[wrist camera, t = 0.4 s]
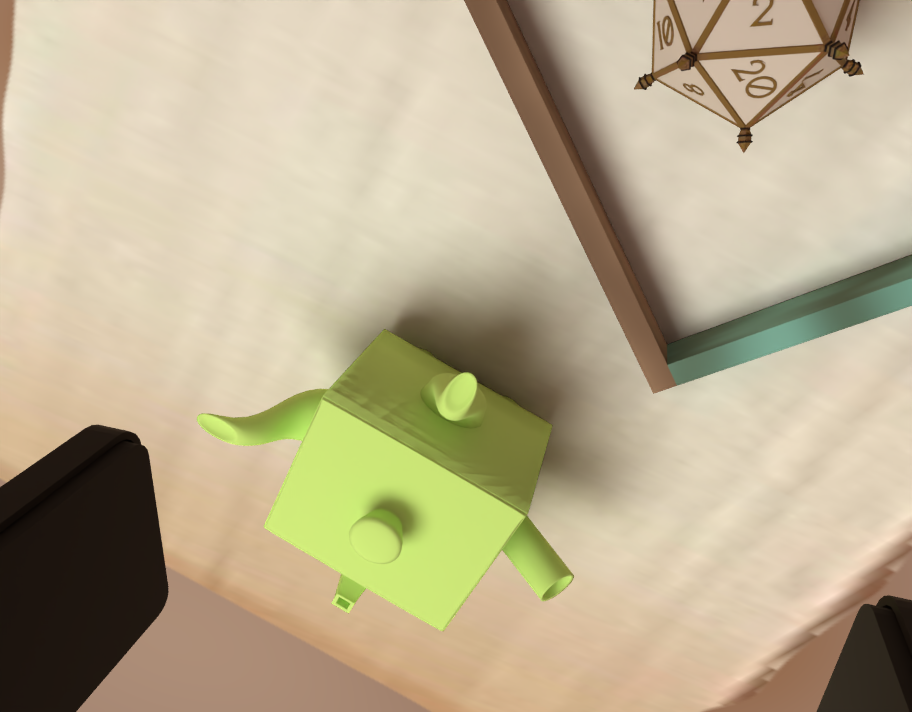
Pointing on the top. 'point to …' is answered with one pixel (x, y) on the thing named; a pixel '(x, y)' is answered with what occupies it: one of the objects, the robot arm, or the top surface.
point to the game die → (749, 52)
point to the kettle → (407, 481)
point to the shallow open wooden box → (658, 361)
